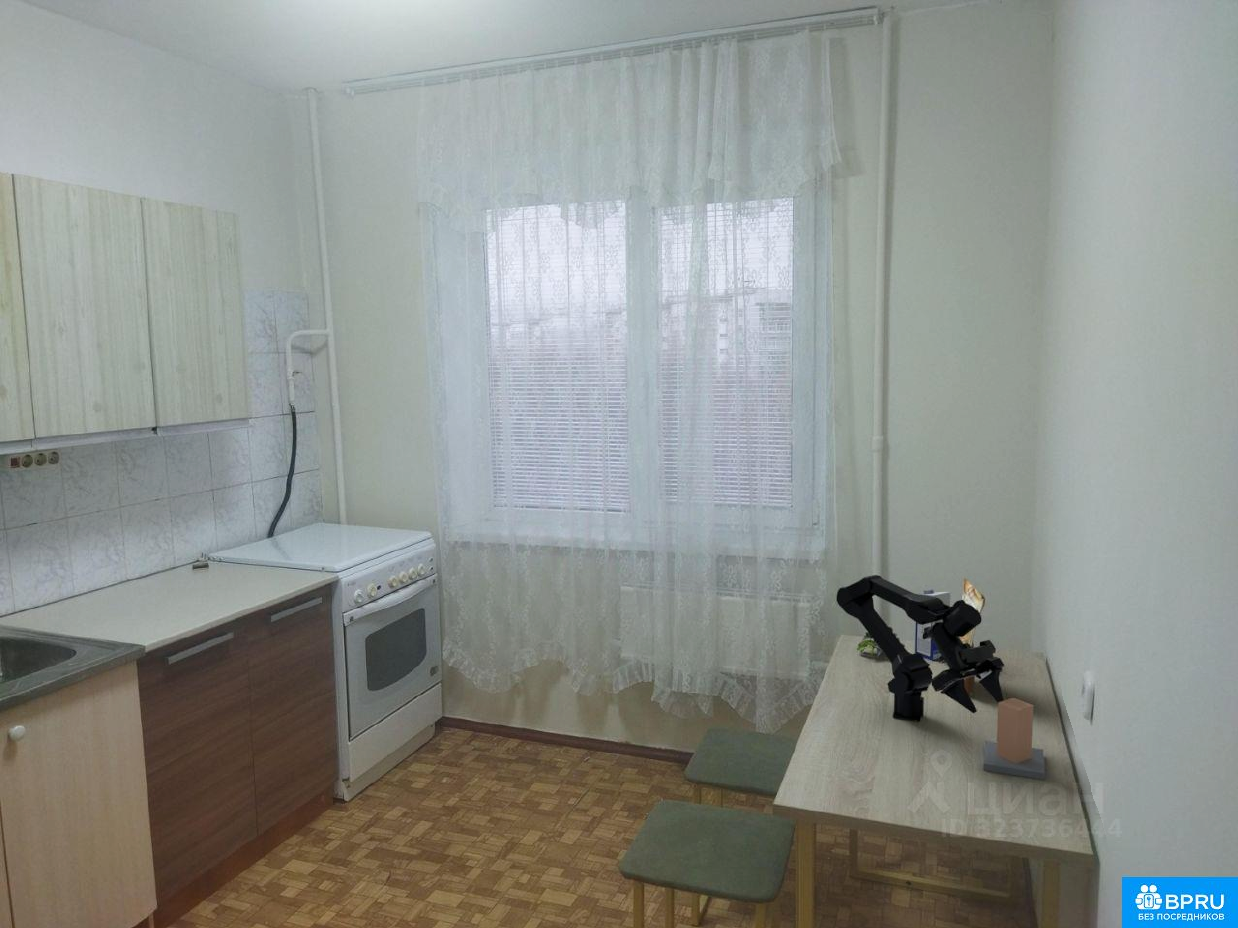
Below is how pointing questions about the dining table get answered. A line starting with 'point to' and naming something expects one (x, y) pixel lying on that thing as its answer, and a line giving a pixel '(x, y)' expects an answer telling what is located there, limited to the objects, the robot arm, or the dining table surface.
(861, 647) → the green leafy clump
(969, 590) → the pancake mix bag
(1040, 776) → the slate board
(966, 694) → the robot arm
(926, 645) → the milk carton
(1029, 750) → the terracotta block
